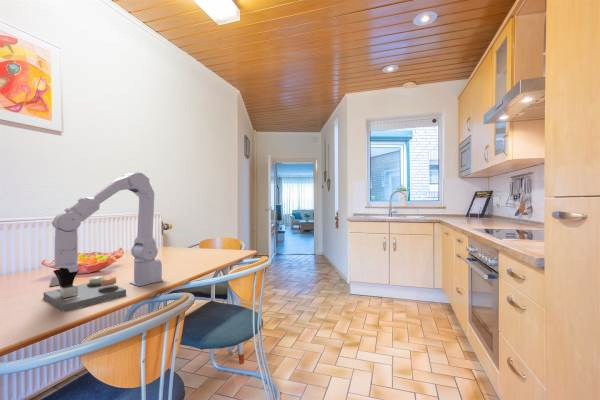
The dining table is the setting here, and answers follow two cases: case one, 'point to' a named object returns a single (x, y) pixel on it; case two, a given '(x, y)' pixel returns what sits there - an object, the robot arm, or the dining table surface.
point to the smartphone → (54, 282)
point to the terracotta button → (108, 281)
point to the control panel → (84, 296)
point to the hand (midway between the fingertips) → (66, 290)
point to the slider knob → (69, 290)
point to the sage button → (95, 280)
